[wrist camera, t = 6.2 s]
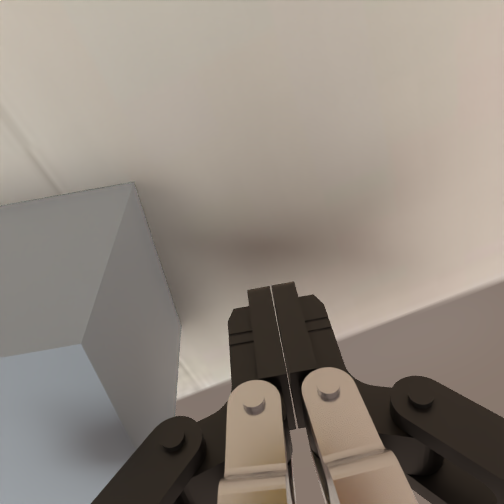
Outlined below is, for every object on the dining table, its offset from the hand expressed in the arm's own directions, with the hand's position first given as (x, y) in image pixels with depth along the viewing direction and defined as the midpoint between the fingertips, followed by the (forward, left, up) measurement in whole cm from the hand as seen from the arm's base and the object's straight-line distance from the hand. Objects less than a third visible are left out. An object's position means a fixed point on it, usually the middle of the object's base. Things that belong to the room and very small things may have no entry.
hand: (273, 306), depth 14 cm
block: (0, -9, -4) cm, 10 cm away
